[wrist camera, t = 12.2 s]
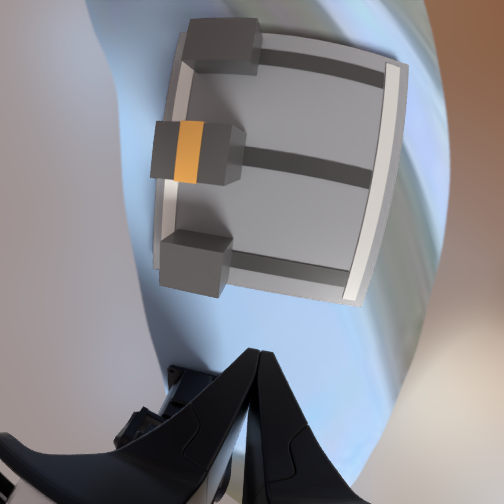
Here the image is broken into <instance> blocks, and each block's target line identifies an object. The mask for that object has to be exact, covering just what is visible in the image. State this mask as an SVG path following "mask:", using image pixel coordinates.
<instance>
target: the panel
mask: <svg viewBox="0 0 504 504" xmlns="http://www.w3.org/2000/svg"><path fill="white" fill-rule="evenodd" d="M408 70H409V65H407V64H404V63H401V62H399V61H396V60H393V59H390V58H387V57H384V56H381V55H377V54H374V53H371V52H367V51H364V50H360V49H356V48H353V47H349V46H344V45H340V44H336V43H331V42H326V41H321V40H315V39H310V38H303V37H297V36H289V35H281V34H271V33H262V32H261V29H260V25H259V21H258V19H257V18H201V19H190V23H189V27H188V31H187V33H180V36H179V40H178V44H177V48H176V53H175V57H174V62H173V67H172V72H171V77H170V82H169V88H168V94H167V100H166V106H165V112H164V119H163V121H181V120H183V121H203V122H206V123H216V124H227V125H233V126H235V127H237V128H238V129H240V130H242V131H244V132H245V133H247V136H246V143H245V150H244V157H243V164H242V171H241V178H240V180H238V181H235V182H233V183H231V184H228V185H226V186H218V185H211V184H203V183H197V184H194V183H185V182H177V181H174V180H168V179H159V178H157V182H156V196H155V214H154V241H153V268H154V269H158V270H159V285H161V286H165V287H169V288H173V289H178V290H182V291H186V292H191V293H195V294H200V295H205V296H209V297H214V298H219V297H220V295H221V293H222V291H223V289H224V287H225V285H226V284H230V285H235V286H240V287H245V288H250V289H256V290H261V291H267V292H272V293H278V294H283V295H289V296H295V297H300V298H306V299H312V300H318V301H325V302H331V303H337V304H344V305H350V306H357V307H362V304H363V301H364V298H365V295H366V292H367V289H368V286H369V283H370V280H371V277H372V274H373V270H374V267H375V264H376V260H377V257H378V253H379V250H380V246H381V242H382V239H383V235H384V231H385V227H386V223H387V219H388V215H389V210H390V206H391V201H392V197H393V192H394V187H395V182H396V176H397V171H398V165H399V159H400V153H401V146H402V139H403V131H404V123H405V114H406V103H407V90H408Z"/></svg>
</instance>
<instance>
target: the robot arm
mask: <svg viewBox="0 0 504 504" xmlns="http://www.w3.org/2000/svg"><path fill="white" fill-rule="evenodd" d="M173 370H174V371H173ZM168 384H169V393H168V395H167V397H166V399H165V401H164V403H163V405H162V407H161V409H160V411H159V413H158V415H157V414H155V413H153V412H151V411H149V409H147V408H146V407H144V406H143V408H142V409H141V411H140V412H134V413H133V414H132V416H131V418H130V420H129V421H128V423H127V424H126V426H125V427H124V428H123V429H122V430H121V431H120V432H119V434H118V435H117V436H116V437H115V439H114V445H115V447H116V450H115V451H111V452H107V453H98V454H76V455H55V454H43V453H39V452H36V451H33V450H31V449H29V448H27V447H26V446H24V445H23V444H22V443H20V442H19V441H18V440H17V439H16V438H15V437H13V436H12V435H10V434H9V433H6V432H3V433H0V459H1V460H2V461H3V462H4V463H5V464H6V465H7V466H8V467H9V468H10V469H11V470H12V471H13V472H14V473H15V474H17V475H18V476H19V477H20V480H19V481H18V483H17V484H16V486H15V485H14V484H13V483H12V482H11V481H10V480H9V479H7V478H6V477H5V476H4V475H3V474H2V473H1V472H0V504H214V502H218V501H220V500H221V498H222V497H223V495H224V494H225V492H226V490H227V487H228V484H229V481H230V476H231V463H232V451H233V449H234V446H235V444H236V441H237V438H238V436H239V433H240V431H241V428H242V425H243V423H244V420H245V417H246V414H247V411H248V421H247V437H246V452H245V468H244V483H243V498H242V504H371V503H369V502H366V501H365V500H363V499H362V498H360V497H359V496H358V495H356V494H355V493H354V492H353V491H352V490H351V488H350V487H349V486H348V484H347V483H346V482H345V480H344V479H343V478H342V476H341V475H340V474H339V472H338V471H337V470H336V468H335V467H334V466H333V464H332V463H331V461H330V460H329V459H328V457H327V456H326V454H325V453H324V451H323V450H322V448H321V447H320V445H319V443H318V441H317V440H316V438H315V436H314V434H313V432H312V430H311V428H310V426H309V425H308V422H307V420H306V418H305V416H304V414H303V412H302V410H301V408H300V406H299V404H298V402H297V400H296V398H295V396H294V394H293V392H292V390H291V388H290V386H289V384H288V382H287V380H286V378H285V376H284V374H283V372H282V369H281V367H280V365H279V363H278V361H277V359H276V357H275V355H274V353H273V352H270V351H264V350H262V351H261V352H260V350H258V349H253V348H247V349H246V350H245V351H244V352H243V353H242V354H241V355H240V356H239V357H238V358H237V359H236V360H235V361H234V362H233V363H232V364H231V365H230V366H229V367H228V368H227V369H225V370H224V371H223V372H222V373H221V374H220V375H219V376H218V377H216V376H212V375H207V374H203V373H199V372H196V371H192V370H188V369H184V368H181V367H177V366H174V365H170V366H169V367H168ZM249 403H250V404H249ZM248 408H249V410H248Z"/></svg>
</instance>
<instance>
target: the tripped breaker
mask: <svg viewBox="0 0 504 504" xmlns="http://www.w3.org/2000/svg"><path fill="white" fill-rule="evenodd" d="M246 136H247V133H245V132H244V131H242V130H240V129H238V128H237V127H235V126H233V125H227V124H216V123H206V122H203V121H183V120H181V121H156V126H155V134H154V142H153V151H152V161H151V172H150V178H159V179H168V180H174V181H177V182H185V183H194V184H197V183H203V184H211V185H218V186H226V185H228V184H231V183H233V182H235V181H238V180H240V178H241V171H242V164H243V157H244V150H245V143H246Z"/></svg>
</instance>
